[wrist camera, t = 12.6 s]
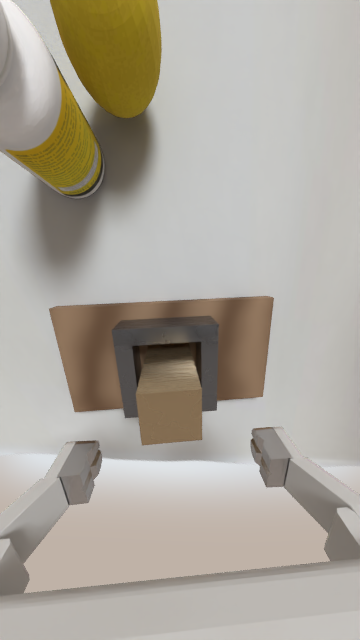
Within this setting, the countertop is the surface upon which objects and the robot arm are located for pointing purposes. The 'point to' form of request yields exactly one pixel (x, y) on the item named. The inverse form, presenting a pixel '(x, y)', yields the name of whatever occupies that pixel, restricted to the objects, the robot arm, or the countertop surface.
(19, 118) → the supplement bottle
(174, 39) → the countertop surface
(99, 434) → the countertop surface
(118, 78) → the lemon
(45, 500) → the robot arm
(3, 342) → the countertop surface
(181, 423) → the square bar
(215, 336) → the collar
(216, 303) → the dock board
